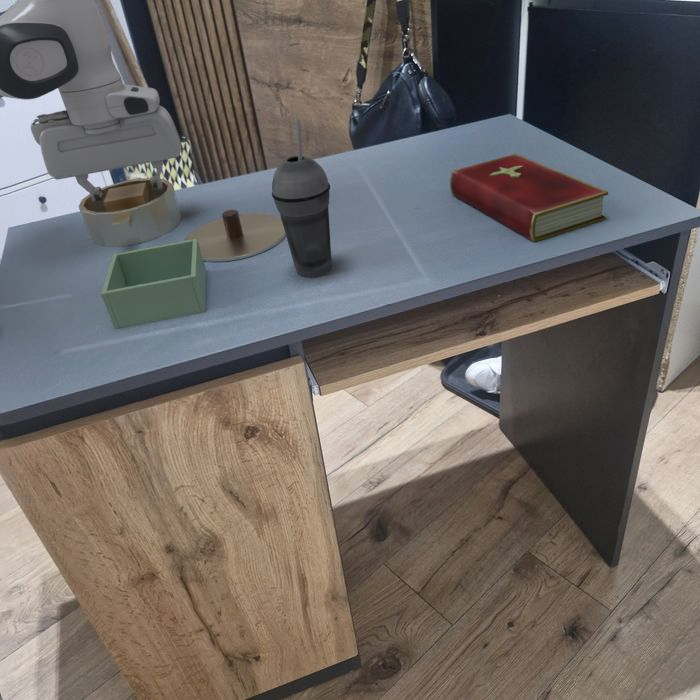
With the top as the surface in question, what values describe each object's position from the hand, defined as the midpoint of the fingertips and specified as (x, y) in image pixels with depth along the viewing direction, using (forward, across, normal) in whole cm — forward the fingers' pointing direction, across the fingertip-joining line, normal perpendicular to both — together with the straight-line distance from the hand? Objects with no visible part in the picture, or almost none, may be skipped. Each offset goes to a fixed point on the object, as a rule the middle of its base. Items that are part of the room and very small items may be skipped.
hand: (128, 194), depth 102 cm
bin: (+6, +6, -27) cm, 28 cm away
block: (+6, 0, 0) cm, 6 cm away
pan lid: (+6, +16, -12) cm, 20 cm away
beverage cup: (+6, +26, -27) cm, 38 cm away
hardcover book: (+7, +58, -18) cm, 61 cm away
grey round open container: (+6, 0, 0) cm, 6 cm away
